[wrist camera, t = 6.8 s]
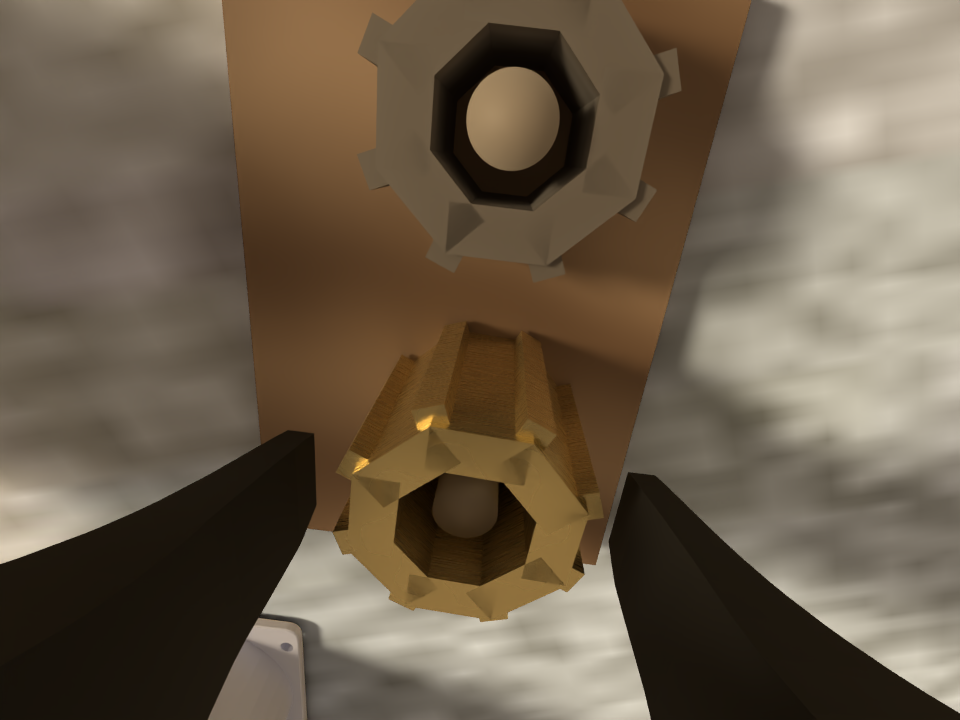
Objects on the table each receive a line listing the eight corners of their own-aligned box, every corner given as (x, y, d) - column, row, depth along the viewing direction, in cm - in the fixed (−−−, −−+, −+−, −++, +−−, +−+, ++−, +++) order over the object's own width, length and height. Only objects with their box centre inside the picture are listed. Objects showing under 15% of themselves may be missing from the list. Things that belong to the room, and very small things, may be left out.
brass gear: (588, 339, 13) (634, 442, 8) (547, 492, 15) (564, 644, 10) (399, 306, 13) (335, 391, 8) (384, 464, 15) (326, 604, 10)
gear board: (590, 538, 17) (621, 689, 12) (283, 499, 17) (194, 633, 12) (734, -14, 10) (923, -160, 6) (244, -70, 11) (25, -258, 6)
